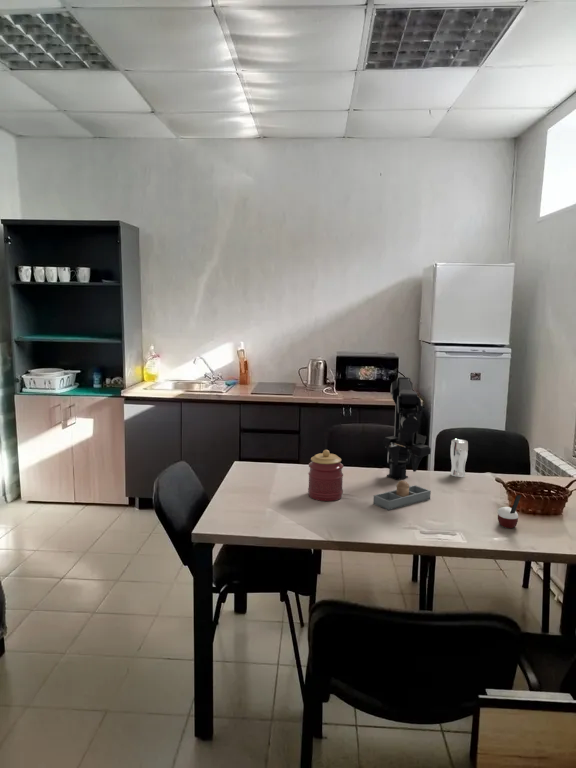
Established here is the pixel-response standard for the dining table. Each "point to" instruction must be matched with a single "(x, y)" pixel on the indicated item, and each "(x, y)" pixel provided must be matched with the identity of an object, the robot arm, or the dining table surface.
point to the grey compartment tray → (401, 498)
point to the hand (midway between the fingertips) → (405, 468)
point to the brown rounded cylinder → (402, 489)
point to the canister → (325, 477)
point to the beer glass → (458, 457)
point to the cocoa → (509, 514)
